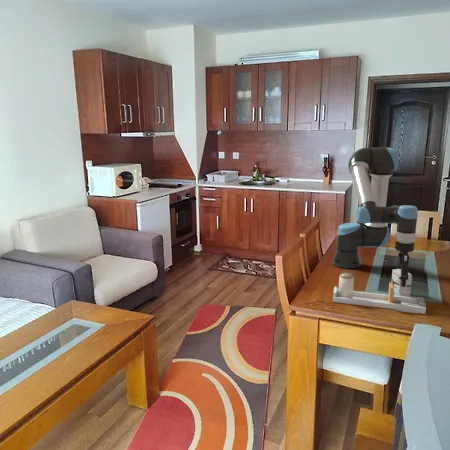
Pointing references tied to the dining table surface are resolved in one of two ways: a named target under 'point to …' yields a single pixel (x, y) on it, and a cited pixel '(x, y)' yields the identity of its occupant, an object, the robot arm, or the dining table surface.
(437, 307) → the dining table surface
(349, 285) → the jar
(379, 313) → the dining table surface
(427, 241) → the dining table surface
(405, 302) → the tray
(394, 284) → the ink box
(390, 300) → the pusher
